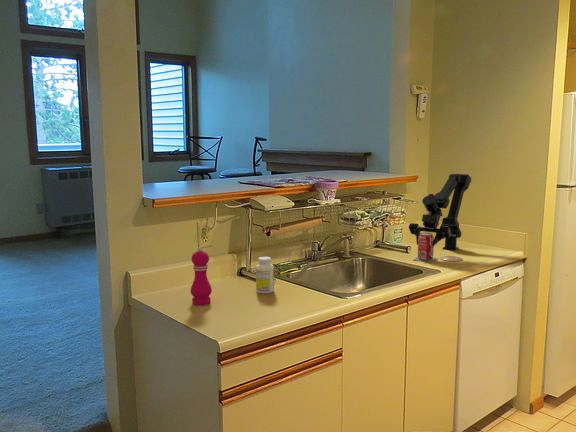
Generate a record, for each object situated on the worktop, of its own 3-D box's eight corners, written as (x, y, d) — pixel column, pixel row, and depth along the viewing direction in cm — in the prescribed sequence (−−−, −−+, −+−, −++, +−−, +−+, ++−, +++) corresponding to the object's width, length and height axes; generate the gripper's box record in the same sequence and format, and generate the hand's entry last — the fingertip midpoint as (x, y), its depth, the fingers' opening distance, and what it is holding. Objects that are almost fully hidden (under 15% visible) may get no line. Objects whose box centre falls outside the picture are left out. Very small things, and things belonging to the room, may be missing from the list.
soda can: (431, 257, 257) (432, 232, 255) (434, 261, 250) (435, 235, 248) (416, 257, 257) (417, 232, 255) (418, 260, 250) (419, 235, 249)
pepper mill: (193, 299, 195) (191, 244, 191) (213, 299, 194) (212, 244, 191) (189, 306, 187) (187, 249, 184) (210, 306, 187) (208, 249, 184)
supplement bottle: (265, 287, 209) (265, 255, 207) (277, 291, 204) (277, 257, 202) (252, 291, 204) (252, 257, 202) (264, 295, 200) (264, 260, 198)
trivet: (443, 255, 261) (443, 255, 261) (465, 258, 256) (465, 257, 256) (437, 260, 253) (437, 259, 253) (459, 262, 247) (459, 261, 247)
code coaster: (419, 256, 260) (419, 256, 260) (437, 258, 255) (437, 258, 255) (412, 260, 252) (412, 259, 252) (431, 262, 247) (431, 262, 247)
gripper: (410, 206, 258) (401, 232, 251) (450, 209, 248) (441, 237, 241) (415, 220, 266) (406, 246, 258) (454, 223, 256) (446, 251, 248)
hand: (424, 245), depth 251 cm, fingers closed on soda can, 7 cm apart
